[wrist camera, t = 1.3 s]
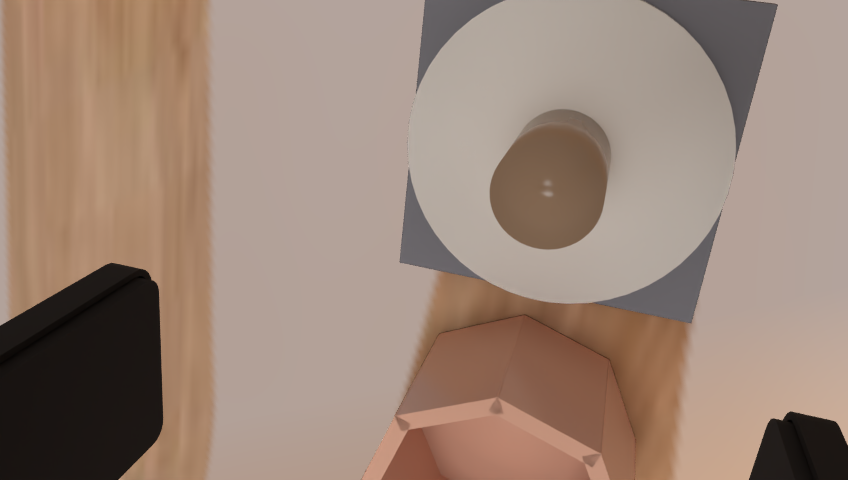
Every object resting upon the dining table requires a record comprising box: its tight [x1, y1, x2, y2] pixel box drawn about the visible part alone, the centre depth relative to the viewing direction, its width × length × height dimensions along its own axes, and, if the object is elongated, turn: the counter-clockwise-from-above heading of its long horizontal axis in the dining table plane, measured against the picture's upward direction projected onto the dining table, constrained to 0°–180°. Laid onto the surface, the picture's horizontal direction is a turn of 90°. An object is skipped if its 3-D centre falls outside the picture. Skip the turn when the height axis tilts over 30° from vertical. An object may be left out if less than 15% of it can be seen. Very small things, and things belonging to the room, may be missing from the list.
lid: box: [407, 0, 736, 304], centre depth 23 cm, size 11×11×6 cm
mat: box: [400, 0, 778, 323], centre depth 26 cm, size 11×11×1 cm
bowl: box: [361, 315, 636, 480], centre depth 28 cm, size 9×9×6 cm
